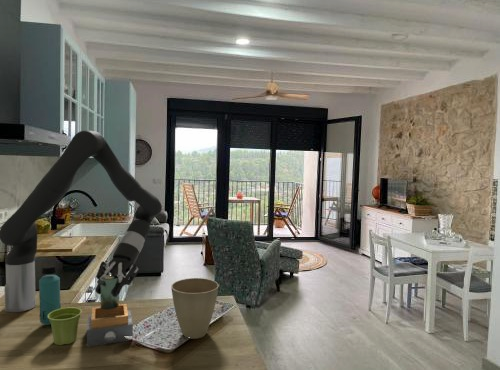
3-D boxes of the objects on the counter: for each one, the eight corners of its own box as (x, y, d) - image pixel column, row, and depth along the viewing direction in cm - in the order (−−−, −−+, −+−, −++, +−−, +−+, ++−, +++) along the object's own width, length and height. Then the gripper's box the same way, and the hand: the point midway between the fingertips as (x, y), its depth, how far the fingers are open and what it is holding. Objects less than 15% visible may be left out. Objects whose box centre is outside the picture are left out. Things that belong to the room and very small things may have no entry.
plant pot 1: (89, 336, 120) (88, 309, 120) (65, 350, 111) (64, 321, 111) (65, 332, 123) (65, 305, 123) (40, 345, 114) (40, 316, 114)
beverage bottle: (65, 321, 131) (64, 263, 130) (53, 329, 125) (52, 269, 123) (47, 320, 132) (46, 263, 131) (34, 328, 125) (33, 268, 124)
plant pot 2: (177, 348, 113) (177, 295, 112) (166, 328, 127) (166, 280, 126) (225, 339, 119) (225, 289, 118) (209, 321, 133) (210, 275, 132)
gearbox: (86, 349, 112) (86, 324, 112) (88, 329, 125) (88, 307, 125) (133, 342, 117) (132, 318, 116) (130, 324, 130) (130, 302, 129)
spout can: (108, 301, 125) (108, 271, 124) (122, 304, 123) (122, 273, 122) (91, 310, 117) (91, 278, 117) (106, 313, 116) (105, 280, 115)
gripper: (106, 240, 129) (80, 285, 119) (142, 243, 125) (119, 291, 114) (117, 252, 135) (93, 297, 124) (152, 255, 130) (130, 302, 119)
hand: (105, 294), depth 119 cm, fingers closed on spout can, 5 cm apart
